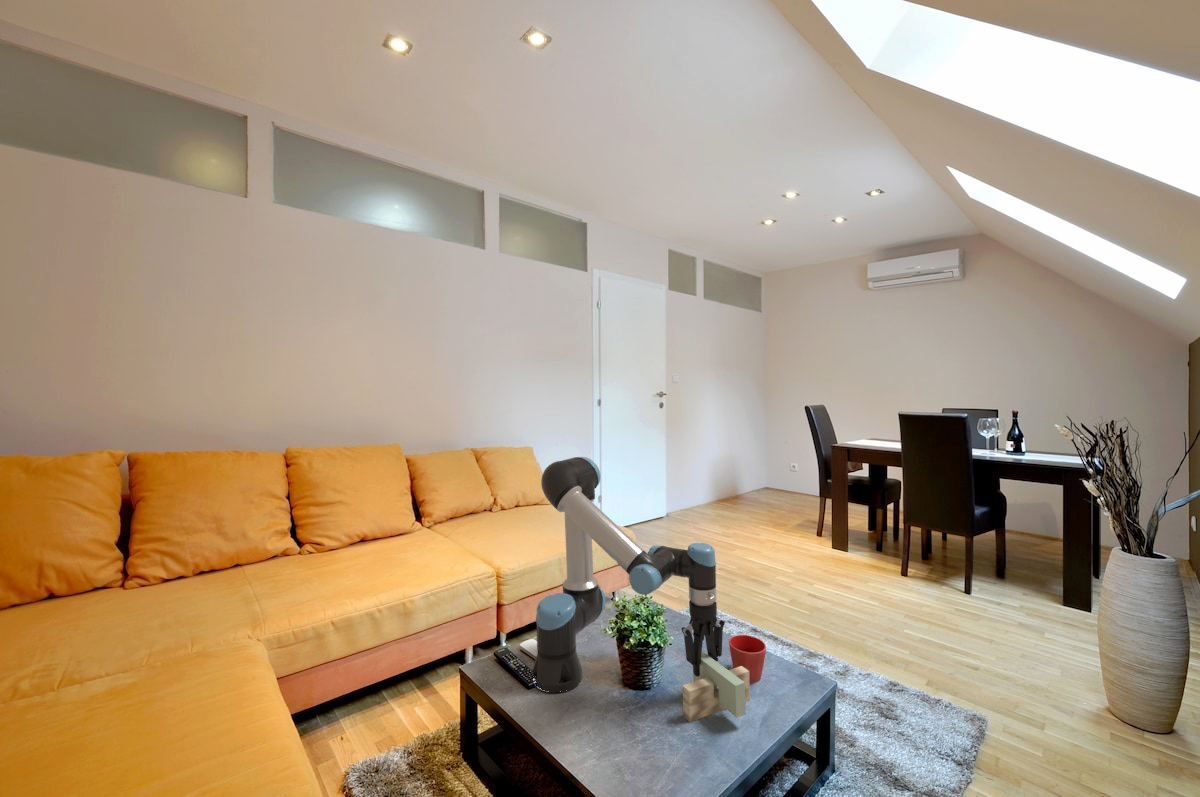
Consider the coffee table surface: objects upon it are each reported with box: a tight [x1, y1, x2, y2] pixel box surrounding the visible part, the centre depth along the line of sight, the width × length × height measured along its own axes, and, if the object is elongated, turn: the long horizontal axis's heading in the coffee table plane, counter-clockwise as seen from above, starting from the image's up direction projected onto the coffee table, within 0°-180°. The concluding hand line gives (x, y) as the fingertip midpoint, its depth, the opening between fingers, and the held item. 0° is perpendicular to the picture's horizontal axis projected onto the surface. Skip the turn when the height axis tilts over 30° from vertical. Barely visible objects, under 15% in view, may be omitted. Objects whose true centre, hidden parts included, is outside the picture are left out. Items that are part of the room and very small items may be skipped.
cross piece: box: [692, 650, 747, 719], centre depth 130 cm, size 18×3×8 cm, turn 25°
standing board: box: [682, 666, 751, 723], centre depth 130 cm, size 20×3×8 cm, turn 115°
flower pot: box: [728, 634, 767, 683], centre depth 145 cm, size 11×11×10 cm
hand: (704, 684), depth 135 cm, fingers closed on cross piece, 3 cm apart
